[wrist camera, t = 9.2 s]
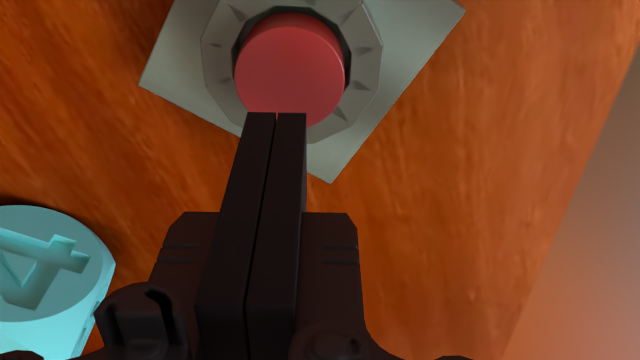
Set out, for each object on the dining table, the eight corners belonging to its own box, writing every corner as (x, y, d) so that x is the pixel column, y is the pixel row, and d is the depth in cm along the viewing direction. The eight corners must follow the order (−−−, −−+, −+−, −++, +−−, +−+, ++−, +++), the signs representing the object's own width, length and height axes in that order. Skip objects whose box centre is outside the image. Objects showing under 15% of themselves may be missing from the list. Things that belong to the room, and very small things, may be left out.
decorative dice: (-18, 183, 27) (-126, 294, 21) (127, 231, 29) (70, 347, 23) (-27, 276, 31) (-119, 392, 25) (100, 312, 33) (46, 429, 27)
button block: (248, -152, 18) (231, -149, 15) (455, -5, 21) (479, 25, 18) (151, 65, 23) (122, 104, 20) (330, 161, 26) (331, 207, 23)
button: (271, -11, 18) (267, 3, 16) (363, 47, 19) (366, 65, 17) (223, 78, 20) (215, 97, 18) (309, 125, 21) (308, 146, 19)
